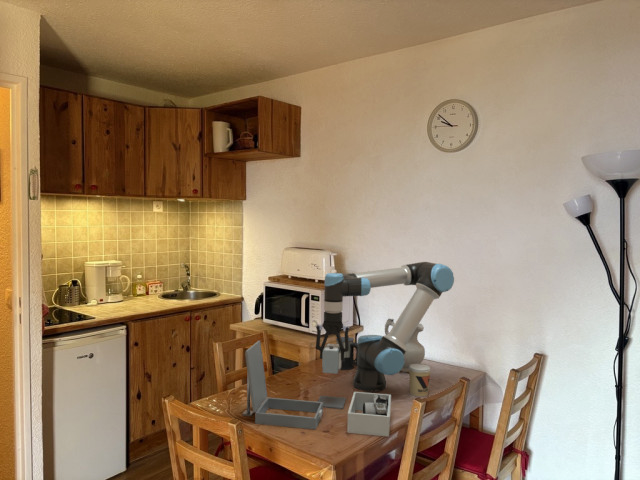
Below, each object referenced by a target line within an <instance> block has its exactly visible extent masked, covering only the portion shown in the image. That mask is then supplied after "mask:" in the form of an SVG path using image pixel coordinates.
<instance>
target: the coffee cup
mask: <svg viewBox="0 0 640 480" xmlns="http://www.w3.org/2000/svg"><path fill="white" fill-rule="evenodd" d="M431 370H432V369H431V367H430V366H429V365H427V364H423V363H421V364H411V365H410V367H409V373H408V374H409V376H408V378H409V394H410V395H411V396H414V397H418V398H425V397H427V396H429V387H430V377H431Z"/></svg>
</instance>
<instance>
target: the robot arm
mask: <svg viewBox="0 0 640 480" xmlns="http://www.w3.org/2000/svg"><path fill="white" fill-rule="evenodd" d="M454 283H455V276H454V272H453V270H452V269H451V267H449V266H448V265H445V264H442V263H434V262H429V261H420V262H415V263H409V264H403V265H401V267H393V268H386V269H385V268H384V269H376V270H371V271H370V270H367V271H361V272H354V273H338V272H329V273H328V272H327V273H326V274H325V276H324V285H323V287H324V289H323V290H324V294H323V295H324V299H323V311H324V312H323V322H322V324H317V325H316V326H315V329H316V342H315V349H316V350H317V351H319V358H320V360H321V362H322V363H321V364H322V365H321V367H322V369H323V350H324V348H325V346H326V345H327V341H328V337H329V335H335V337H336V338H337V340H338V344H339V347H340V352H339V370H342V369H341V360H344V352H347V351H348V350H349V341H348V337H349V330H350V326H348V325H347V326H346V325H344V323H343V312H342V311H343V300H344V299H343V298H344V297H363V296H368V295H369V294H370V293H371V290H372V289H374V288H380V287H388V286H396V285H397V286H398V285H404V286H416V290H415V291H414V293H413V295H412V296H411V298H410V299H409V300H408V303H407V304H406V306H404V309H403V311H402V312H401V314H400V315H399V316H398V318H397V320H396V321H395V322H394V323H395V325H394V326H392V328H391V329H390V331H389V334H388V335H386V334H384V335H381V334H380V335H379V334H378V335H377V334H365V335H360V336H359V337H358V338H357V342H356V343H357V345H358V350H357V365H356V366H357V367H356V371H355V373H354V376H353V379H352V386H353V388H355V389H358V390H360V391H365V392H380V391H383V390H385V389H386V388H387V380H386V376H393V375H396V374H398V373H399V372H401V371H400V370H401V369H402V367H403V365H404V362H405V361H404V354H405V352H406V348H405V345H406V344H407V342H408V341H409V339H410V337H411V336H412V334H413V332H414V331H415V329H416V328H417V326H418V324H420V322H422V319H423V318H424V316H425V315H426V313H427V312H428V309H430V307H431V305H432V303H433V302H434V301H435V300H438V299H440V297H441V296H442V294H443V293H446V292H448V291H450V290H451V289H452V287H453V286H454ZM322 330H324V331H325V334H324V337H323V340H322V343H321V336H322V335H321V333H322ZM340 331H343V332H344V337H345V348H344V346H343V343H342V339H341V337H342V336H341V333H340ZM385 375H386V376H385Z"/></svg>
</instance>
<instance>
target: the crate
mask: <svg viewBox="0 0 640 480" xmlns="http://www.w3.org/2000/svg"><path fill="white" fill-rule="evenodd" d="M374 395H381V396H386V397H385V398H387V399H388V408H387V409H386V414H387V416H383V415H372V414H363V413H360V412H356V411H362V412H363V404H364V403H369V402H370V403H373V398H374ZM391 403H392V394H387V393H375V392H373V393H372V392H362V391H353V395H352V398H351V402H350V404H349V408H348V411H347V430H346V431H347V434H348V433H349V434H356V435H358V434H359V435H367V436H377V437H387V438H388V437H390V428H391V427H390V425H391V411H392V409H391V408H392V407H391V406H392V404H391Z"/></svg>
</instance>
